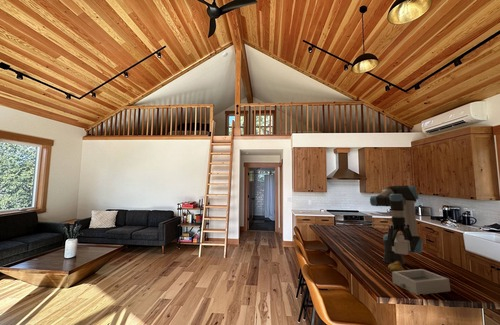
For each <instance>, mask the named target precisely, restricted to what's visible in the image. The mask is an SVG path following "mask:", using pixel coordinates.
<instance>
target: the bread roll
mask: <svg viewBox="0 0 500 325" xmlns="http://www.w3.org/2000/svg"><path fill="white" fill-rule="evenodd" d="M387 269H388V271H389V272H390V273H391V274H392V272H394V271H405V267H403V265H402V264H401V262H399V261H395V262H394V263H392V264H388V266H387Z"/></svg>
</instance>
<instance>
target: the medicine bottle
mask: <svg viewBox="0 0 500 325" xmlns="http://www.w3.org/2000/svg"><path fill="white" fill-rule="evenodd" d="M395 242H396V251H397V252H394V253H398V254H401V255H406V256H408V254H409V253H410V252H409V251H408V242H407V241H406V238H405V235H403V233H397V235H396V238H395Z"/></svg>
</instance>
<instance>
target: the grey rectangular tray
mask: <svg viewBox="0 0 500 325" xmlns="http://www.w3.org/2000/svg"><path fill="white" fill-rule="evenodd" d="M391 278H392V283H393V284H394V285H396V286H399V287H400V288H401V289H404V290H406V291H408V292H410V293H411V294H413V295H416V296H421V295H420V294H423V295H429V294H430V293H431V294H439V293H445V292H446V293H447V292H451V284H450V278H448V277H446V276H443V275H439V274H437V273H435V272H431V271H429V270H426V269H423V268H418V269H407V270H406V269H404V271H394V272H392V273H391Z"/></svg>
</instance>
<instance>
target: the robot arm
mask: <svg viewBox="0 0 500 325" xmlns="http://www.w3.org/2000/svg"><path fill="white" fill-rule="evenodd" d="M417 200H419V194H418V191H417V188H416V186H415V185H407V184H405V185H391V186H387V187H385V188H383V189H382V190H381V192H380V193H379V194H377V195H370V197H369V203H370V205H371V206H373V207H389V208H390V216H391V218H390V219H391V222H392V224H388V231H387V232H388V233H385V234H383V238H382V240H383V250H384V254H383V257H382V261H384V262H383V263H385V262H386V263H385V264H388V263H389V264H392V263H394V262H395V261H399V262H401V264H402V266H403V265H405V259H404V258H403V254H398V253H394V252H397V251H396V242H395V238H396V235H397V234H399V232H401V234H403V235H405V238H406V241H407V242H408V251H409V253H412V254H422V251H423V246H424V245H423V244H424V243H423V241H424V240H423V238H421V236H420V234H419V233H418V229H417V218H416V209H415V208H416V207H415V204H416V203H417ZM389 264H388V265H389Z"/></svg>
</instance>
